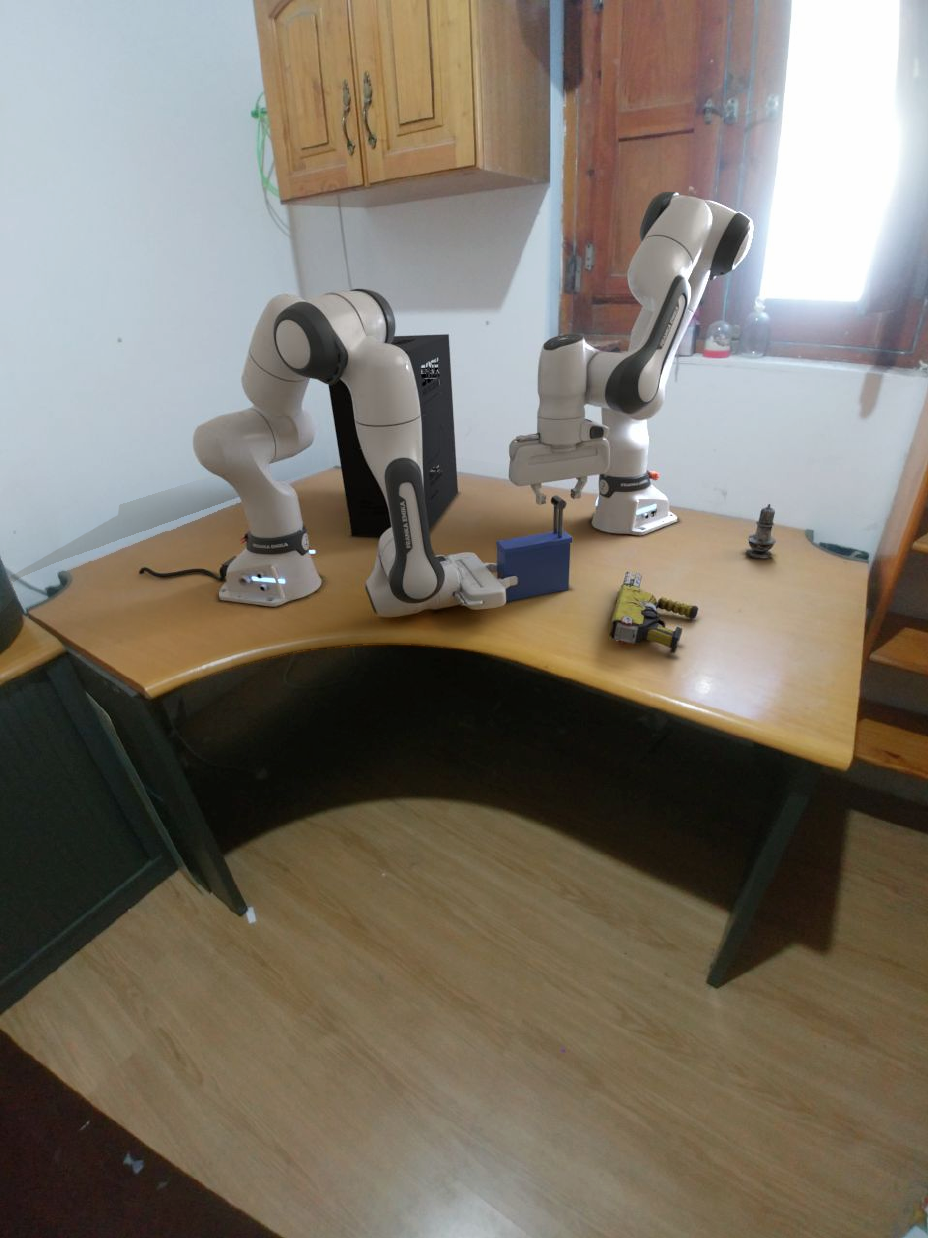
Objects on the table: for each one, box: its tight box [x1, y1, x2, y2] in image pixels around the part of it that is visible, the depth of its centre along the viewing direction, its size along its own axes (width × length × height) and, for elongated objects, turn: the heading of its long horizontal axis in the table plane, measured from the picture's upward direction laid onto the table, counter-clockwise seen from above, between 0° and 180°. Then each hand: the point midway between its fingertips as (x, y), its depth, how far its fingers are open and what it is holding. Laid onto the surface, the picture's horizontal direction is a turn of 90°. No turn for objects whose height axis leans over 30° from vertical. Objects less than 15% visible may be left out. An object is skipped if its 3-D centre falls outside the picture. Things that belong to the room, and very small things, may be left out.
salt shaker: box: [746, 503, 777, 559], centre depth 136 cm, size 6×6×12 cm
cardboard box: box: [327, 333, 459, 538], centre depth 164 cm, size 38×20×45 cm, turn 167°
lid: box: [496, 495, 574, 555], centre depth 122 cm, size 15×5×9 cm, turn 108°
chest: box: [496, 543, 571, 603], centre depth 126 cm, size 14×5×11 cm, turn 108°
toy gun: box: [608, 570, 699, 654], centre depth 115 cm, size 5×24×15 cm
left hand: (510, 573), depth 125 cm, fingers closed on chest, 5 cm apart
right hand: (558, 500), depth 121 cm, fingers open, 6 cm apart
